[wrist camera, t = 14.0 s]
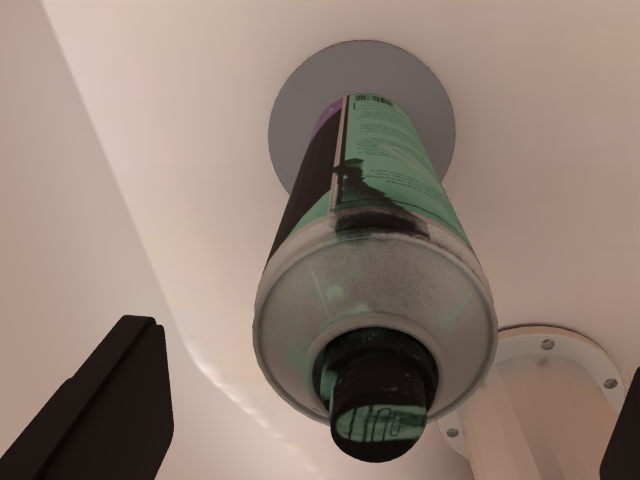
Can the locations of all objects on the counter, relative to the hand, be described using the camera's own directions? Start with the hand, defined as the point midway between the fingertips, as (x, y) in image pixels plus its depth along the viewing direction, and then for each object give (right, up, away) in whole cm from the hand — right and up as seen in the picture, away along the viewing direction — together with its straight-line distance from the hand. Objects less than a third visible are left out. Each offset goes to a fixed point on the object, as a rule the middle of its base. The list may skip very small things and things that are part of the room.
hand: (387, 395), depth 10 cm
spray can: (+1, +8, +17) cm, 19 cm away
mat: (+1, +9, +18) cm, 20 cm away
